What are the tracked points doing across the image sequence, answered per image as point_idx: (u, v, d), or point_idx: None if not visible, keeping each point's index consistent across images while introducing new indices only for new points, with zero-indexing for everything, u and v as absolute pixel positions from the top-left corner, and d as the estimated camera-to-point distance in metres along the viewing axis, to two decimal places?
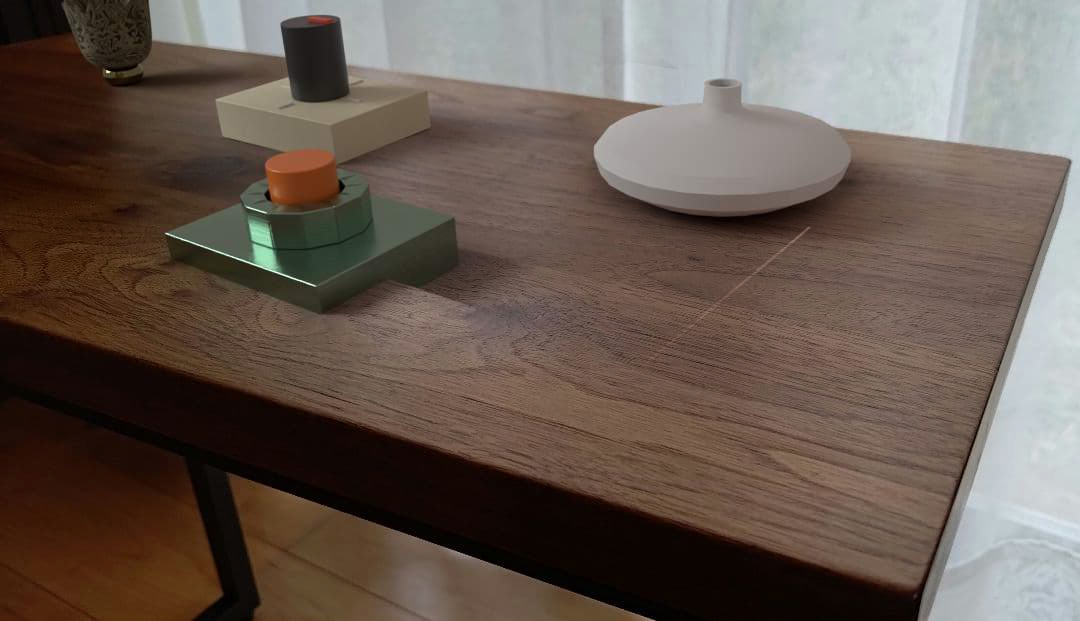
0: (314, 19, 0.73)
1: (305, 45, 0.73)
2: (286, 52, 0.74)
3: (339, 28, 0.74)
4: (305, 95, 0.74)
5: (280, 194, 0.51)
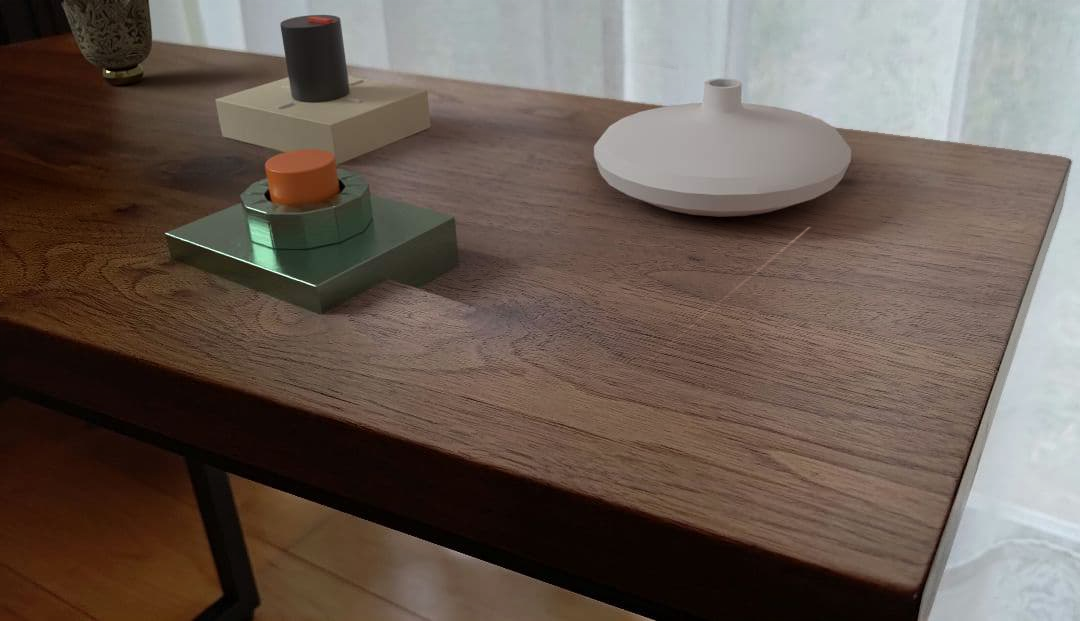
0: (314, 19, 0.73)
1: (305, 45, 0.73)
2: (286, 52, 0.74)
3: (339, 28, 0.74)
4: (305, 95, 0.74)
5: (280, 194, 0.51)
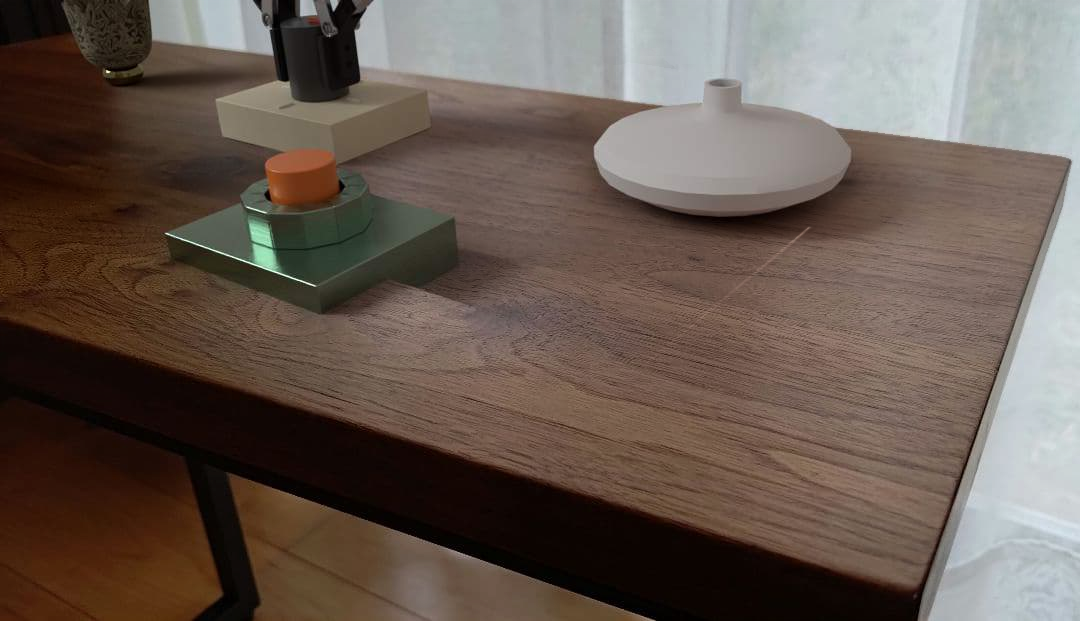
0: (314, 19, 0.73)
1: (305, 45, 0.73)
2: (286, 52, 0.74)
3: None
4: (305, 95, 0.74)
5: (280, 194, 0.51)
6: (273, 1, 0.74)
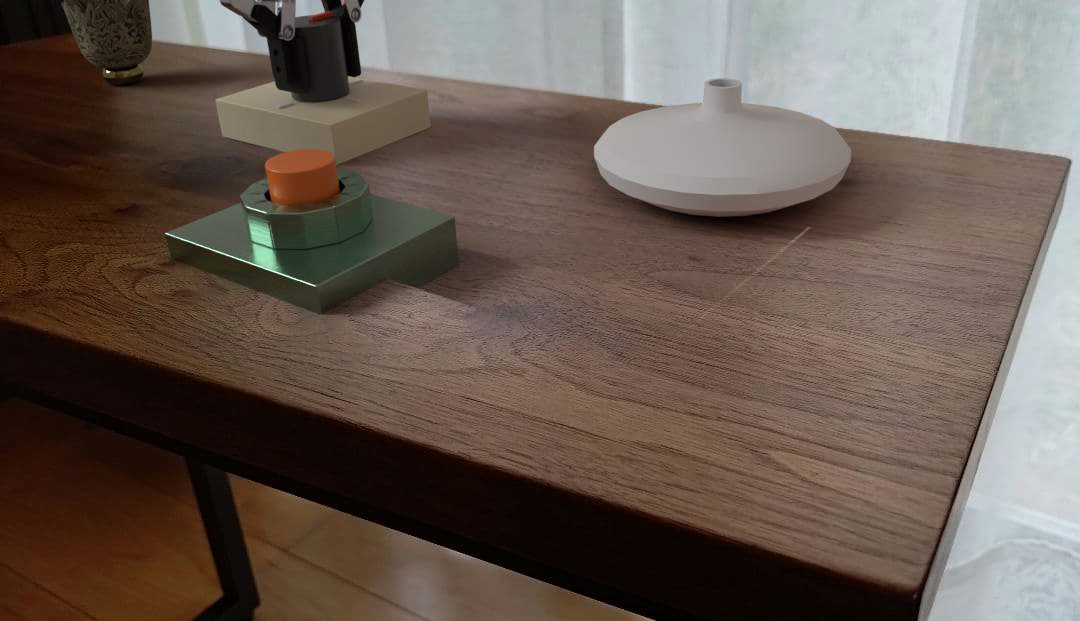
0: (320, 16, 0.74)
1: (342, 37, 0.74)
2: (325, 52, 0.73)
3: None
4: (345, 88, 0.76)
5: (280, 194, 0.51)
6: (294, 8, 0.71)
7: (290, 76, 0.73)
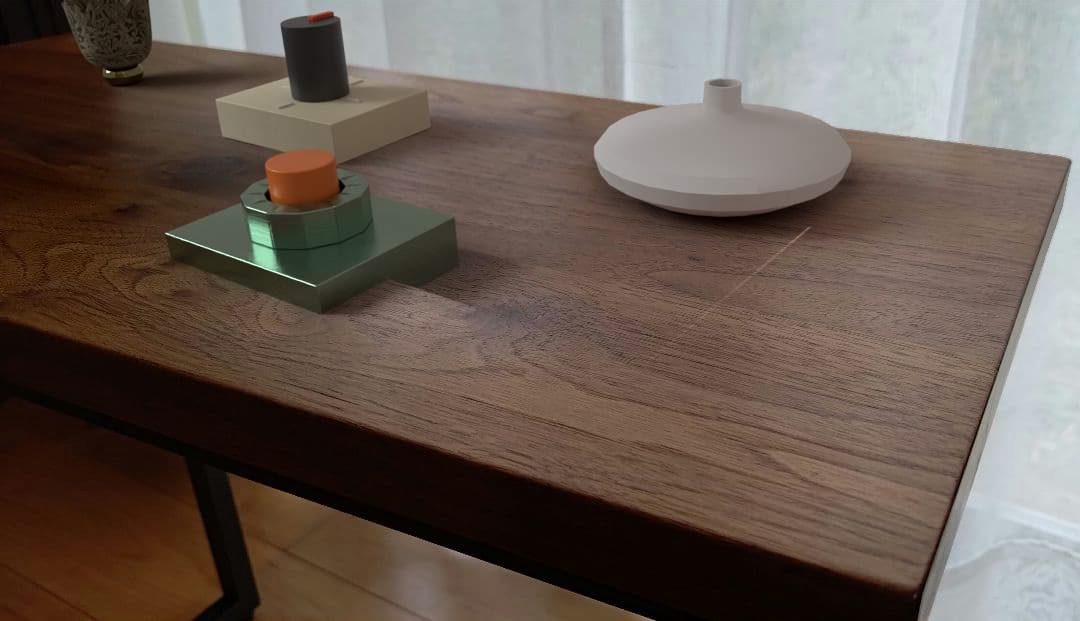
0: (320, 16, 0.74)
1: (342, 37, 0.74)
2: (326, 52, 0.73)
3: None
4: (345, 88, 0.76)
5: (280, 194, 0.51)
6: None
7: None
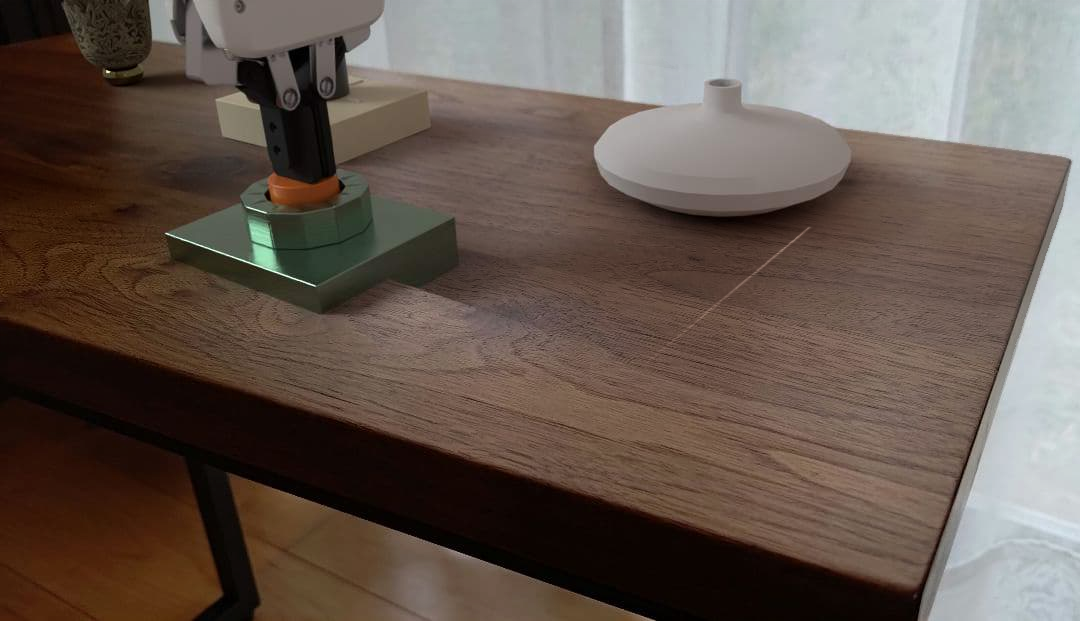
0: None
1: None
2: None
3: None
4: (345, 88, 0.76)
5: None
6: (289, 61, 0.48)
7: (294, 159, 0.50)
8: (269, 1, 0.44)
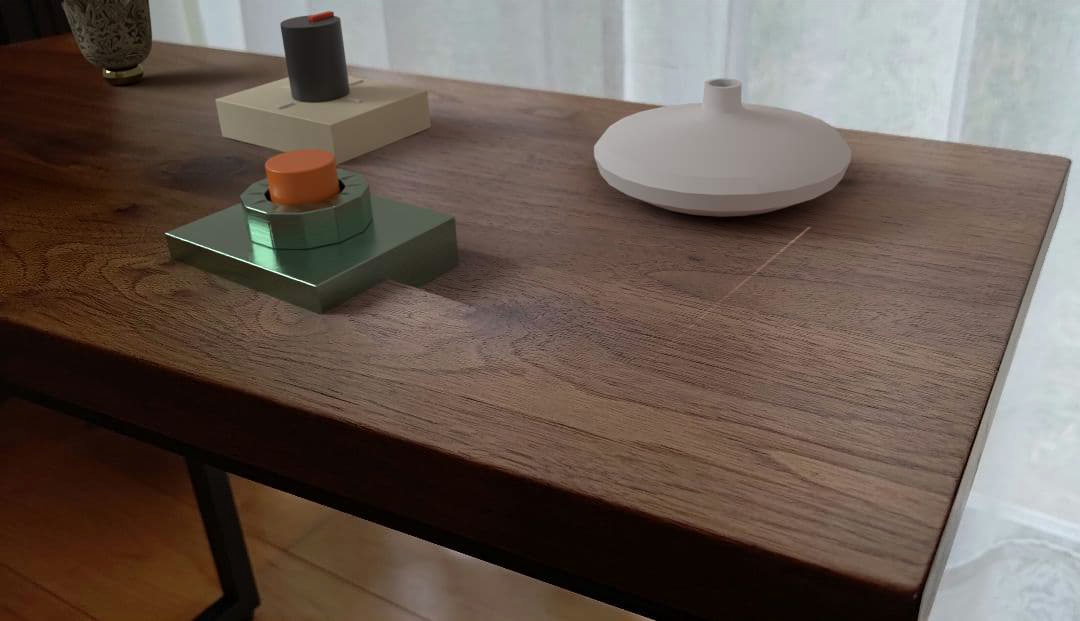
0: (320, 16, 0.74)
1: (342, 37, 0.74)
2: (326, 52, 0.73)
3: None
4: (345, 88, 0.76)
5: (280, 194, 0.51)
6: None
7: None
8: None
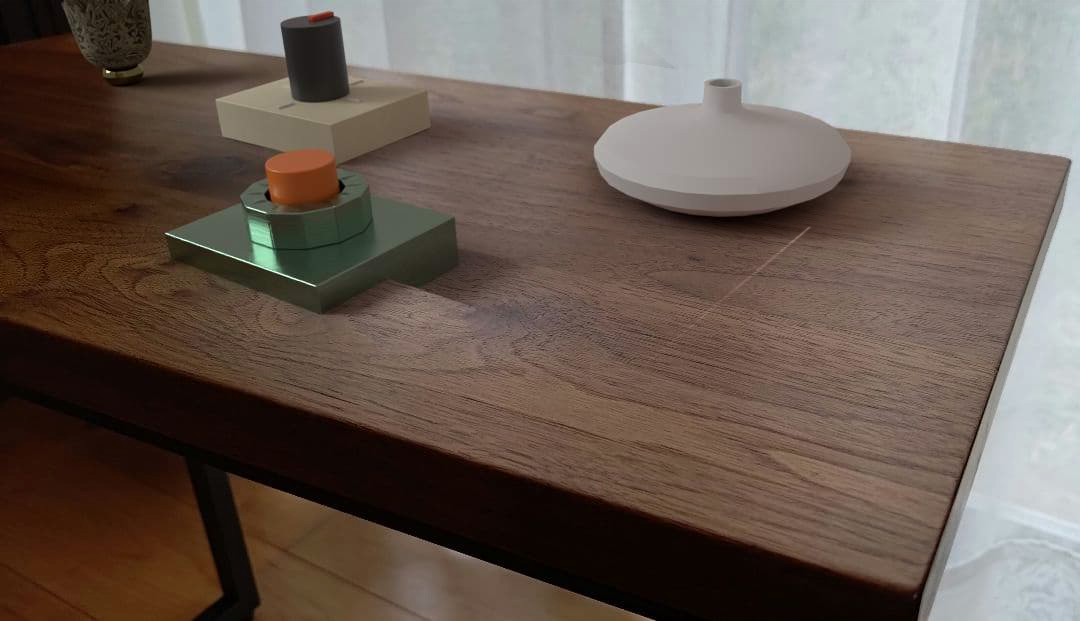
0: (320, 16, 0.74)
1: (342, 37, 0.74)
2: (326, 52, 0.73)
3: None
4: (345, 88, 0.76)
5: (280, 194, 0.51)
6: None
7: None
8: None
